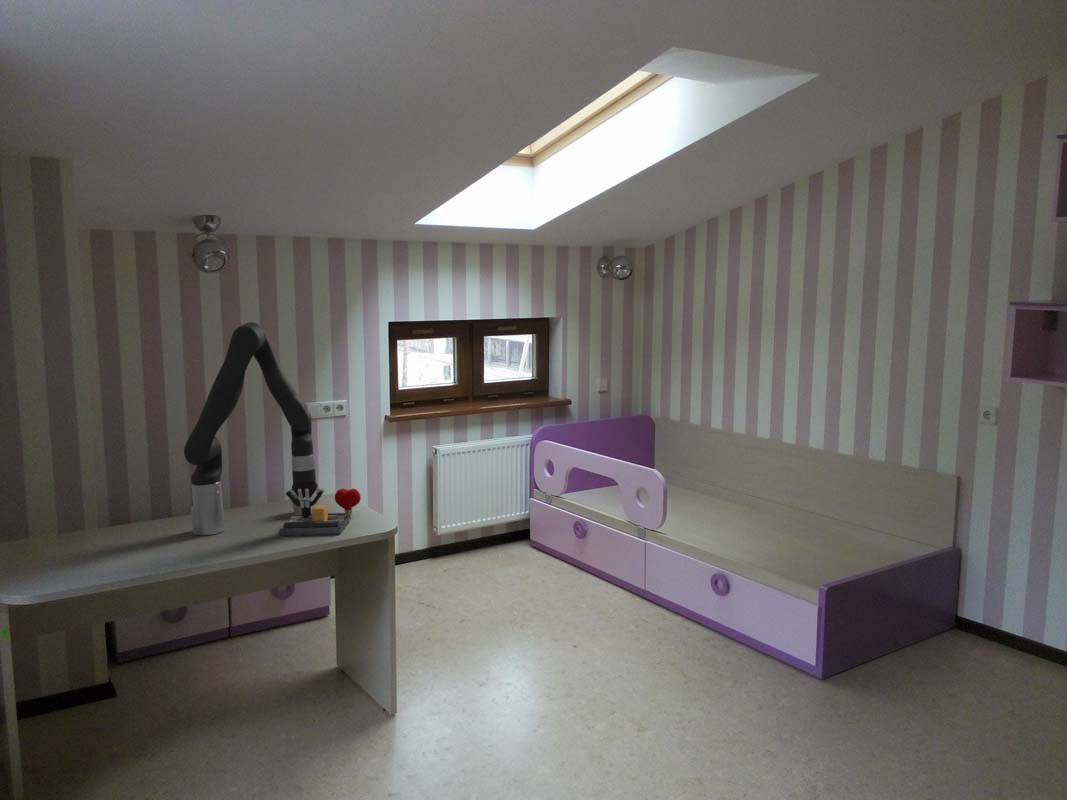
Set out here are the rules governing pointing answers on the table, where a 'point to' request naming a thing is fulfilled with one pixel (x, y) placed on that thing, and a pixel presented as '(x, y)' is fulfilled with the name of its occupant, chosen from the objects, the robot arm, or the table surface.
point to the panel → (315, 530)
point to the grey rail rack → (313, 524)
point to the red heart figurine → (347, 499)
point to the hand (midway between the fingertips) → (306, 517)
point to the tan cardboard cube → (319, 513)
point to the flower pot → (297, 508)
